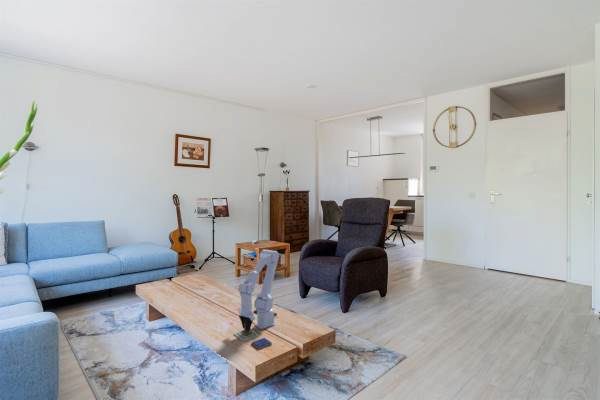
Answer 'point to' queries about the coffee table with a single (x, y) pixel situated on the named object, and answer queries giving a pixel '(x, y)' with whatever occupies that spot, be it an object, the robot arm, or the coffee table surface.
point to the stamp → (246, 331)
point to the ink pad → (261, 343)
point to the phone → (274, 313)
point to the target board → (243, 337)
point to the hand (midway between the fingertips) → (246, 329)
